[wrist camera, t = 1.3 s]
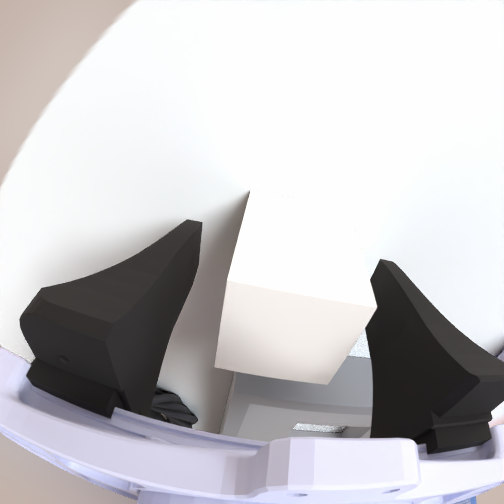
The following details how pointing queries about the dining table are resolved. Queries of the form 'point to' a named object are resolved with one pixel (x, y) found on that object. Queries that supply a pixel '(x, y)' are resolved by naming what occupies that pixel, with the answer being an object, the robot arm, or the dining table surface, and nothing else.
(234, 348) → the white rectangular block
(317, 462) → the robot arm
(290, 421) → the walled box
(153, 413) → the cable
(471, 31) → the dining table surface
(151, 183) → the dining table surface
